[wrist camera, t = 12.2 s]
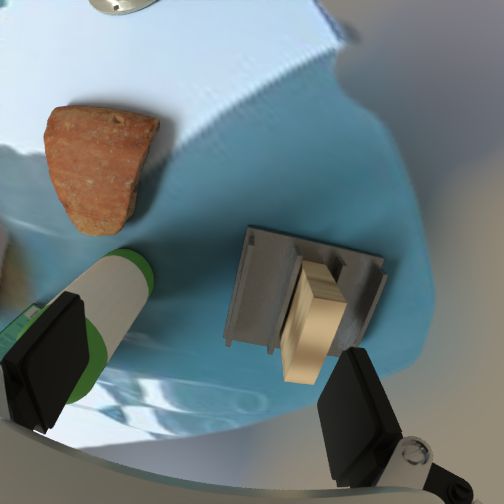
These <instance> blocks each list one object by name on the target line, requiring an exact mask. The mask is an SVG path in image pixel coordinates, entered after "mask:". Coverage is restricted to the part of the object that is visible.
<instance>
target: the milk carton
mask: <svg viewBox="0 0 504 504" xmlns="http://www.w3.org/2000/svg"><path fill="white" fill-rule="evenodd" d="M40 310H41V308H39V307H37V306H36V305H34V304H32V305H31V306H29V307H28V308H27V309H26V310H25V311H24V312H23V313H21V314H20V315H19V316H18V317H17V318H16V319H15V320H14V321H12V322H11V323H10V324H9V325H8V326H7V327H6V328H5V329H4V330H3V331H1V332H0V361H1V360H2V359H3V357H4V356H5V354H6V353H7V352H8V351H9V350H10V349H11V347H12V346H13V345H14V344H15V343H16V341H17V337H18V335H19V333H20V332H21V330H22V329H23V328H24V326H25V325H26V324H27V322H29V321H30V320H31V319H32V318H33V317H34V316H35V315H36V314H37V313H38V312H39V311H40Z"/></svg>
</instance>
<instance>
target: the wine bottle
mask: <svg viewBox="0 0 504 504" xmlns="http://www.w3.org/2000/svg"><path fill="white" fill-rule="evenodd" d="M153 287H154V275H153V272H152V269H151V267H150V265H149V263H148V262H147V261H146V260H145V258H144V257H142V256H141V255H140V254H138V253H137V252H135V251H132V250H129V249H117V250H114V251H112V252H109V253H108V254H106V255H105V256H104V257H102V258H101V259H100V260H98V261H97V262H96V263H95V264H93V265H92V266H91V267H90V268H89V269H87V270H86V271H85V272H84V273H82V274H81V275H80V276H79V277H78V278H77V279H75V280H74V281H73V282H72V283H71V284H69V285H68V286H67V287H66V288H65V289H64V290H62V291H61V292H60V293H59V294H58V295H57V296H56V297H54V298H53V299H52V300H51V301H50V302H49V303H48V304H47V305H45V306H44V307H43V309H41V310H40V311H39V312H38V313H37V314H36V315H35V316H34V317H33V318H32V319H31V320H30V321H29V322H27V324H26V325H25V326H24V328H23V329H22V330H21V332H20V333H19V335H18V337H17V340H18V339H19V338H20V337H21V336H22V335H23V334H24V333H25V332H26V330H27V329H28V328H29V327H30V326H31V325H32V324H33V323H34V322H35V321H36V319H37V318H38V317H39V316H40V315H41V314H42V313H43V312H44V311H45V310H46V309H47V308H48V307H49V306H50V305H51V304H52V303H53V302H54V301H55V300H56V299H57V298H58V297H59V295H60V294H61V293H62V292H64V291H68V292H72V293H75V294H78V295H80V298H81V299H82V300H83V301H84V307H85V320H86V330H87V339H88V347H89V355H90V358H89V363H88V365H87V367H86V369H85V371H84V372H83V374H82V376H81V377H80V379H79V381H78V383H77V384H76V386H75V388H74V390H73V392H72V393H71V395H70V397H69V399H68V401H67V402H66V404H71V403H74V402H76V401H78V400H80V399H81V398H83V397H84V396H86V395H87V394H88V393H89V392H90V390H91V389H92V387H93V386H94V384H95V382H96V381H97V379H98V377H99V376H100V374H101V372H102V371H103V370H104V368H105V366H106V365H107V363H108V361H109V360H110V358H111V357H112V355H113V353H114V352H115V350H116V349H117V347H118V345H119V344H120V342H121V341H122V339H123V337H124V336H125V334H126V333H127V331H128V330H129V328H130V326H131V325H132V323H133V322H134V320H135V319H136V317H137V316H138V314H139V313H140V311H141V310H142V308H143V307H144V305H145V303H146V302H147V300H148V299H149V297H150V295H151V294H152V291H153ZM16 342H17V341H16ZM66 404H65V405H66Z"/></svg>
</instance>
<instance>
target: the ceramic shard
mask: <svg viewBox="0 0 504 504" xmlns="http://www.w3.org/2000/svg"><path fill="white" fill-rule="evenodd" d="M159 125H160V122H159V120H158V119H156V118H151V117H148V116H144V115H140V114H136V113H131V112H127V111H120V110H114V109H108V108H102V107H87V106H62V107H57V108H55V109H54V110H53V111H52V113H51V115H50V117H49V118H48V120H47V127H46V130H45V133H44V144H45V153H46V158H47V163H48V167H49V174H50V178H51V181H52V183H53V186H54V188H55V190H56V192H57V195H58V198H59V200H60V201H61V203H62V204H63V206H64V208H65V210H66V213H67V214H68V216H69V218H70V220H71V221H72V223H73V224H74V225H75V226H76V228H77V229H78V231H79V232H82V233H83V234H88V235H91V236H102V235H114V234H117V233H119V232H120V231H121V230H122V228H123V226H124V224H125V222H126V220H128V219H129V218H130V217H131V216H132V215H133V213H134V210H135V205H136V199H137V193H138V186H139V183H140V182H139V177H140V172H141V167H142V166H143V165H144V163H145V161H146V159H147V156H148V153H149V148H150V144H151V142H152V140H153V139H154V137H155V135H156V134H157V132H158V131H159Z"/></svg>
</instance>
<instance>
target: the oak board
mask: <svg viewBox="0 0 504 504" xmlns="http://www.w3.org/2000/svg"><path fill="white" fill-rule="evenodd" d="M346 305H347V302H346V300H345V299H344V297H343V295H342V293H341V291H340V289H339V288H338V286H337V284H336V282H335V280H334V278H333V277H332V275H331V273H330V271H329V269H328V268H327V266H326V265H324V264H319V263H314V262H309V261H304V260H302V262H301V265H300V269H299V272H298V275H297V279H296V282H295V285H294V289H293V292H292V295H291V298H290V302H289V305H288V308H287V311H286V314H285V317H284V321H283V324H282V327H281V330H280V333H279V337H280V346H281V355H282V364H283V373H284V381H286V382H295V383H303V384H313V385H314V383H315V381H316V378H317V376H318V374H319V372H320V369H321V367H322V365H323V362H324V360H325V358H326V355H327V353H328V351H329V348H330V346H331V343H332V341H333V339H334V336H335V334H336V331H337V329H338V326H339V323H340V321H341V318H342V316H343V313H344V310H345V308H346Z"/></svg>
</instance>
